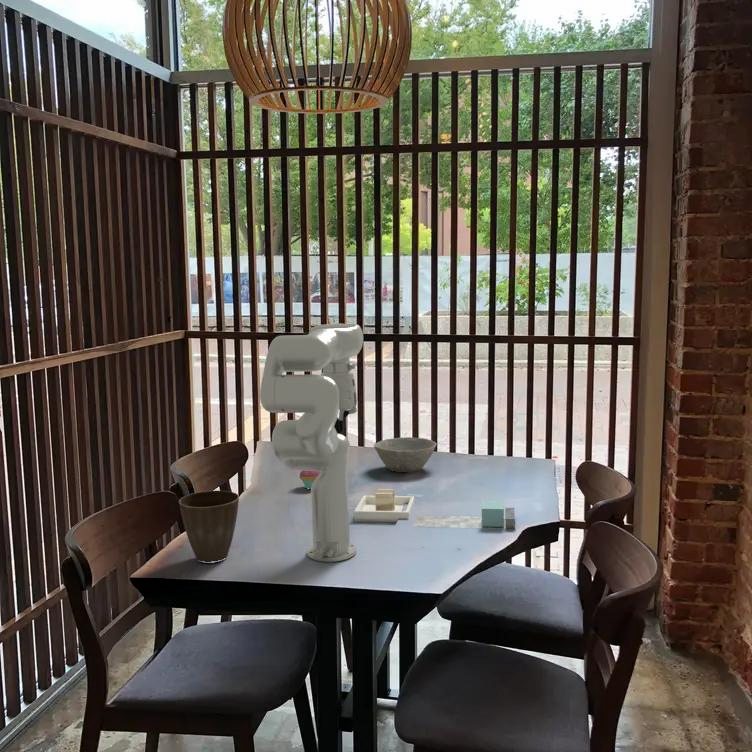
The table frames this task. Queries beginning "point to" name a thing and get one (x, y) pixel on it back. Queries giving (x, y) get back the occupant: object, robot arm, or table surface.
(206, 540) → the plant pot
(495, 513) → the teal block
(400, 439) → the ceramic bowl
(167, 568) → the table surface
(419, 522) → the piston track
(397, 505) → the tray
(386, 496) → the wooden block
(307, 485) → the cupcake
